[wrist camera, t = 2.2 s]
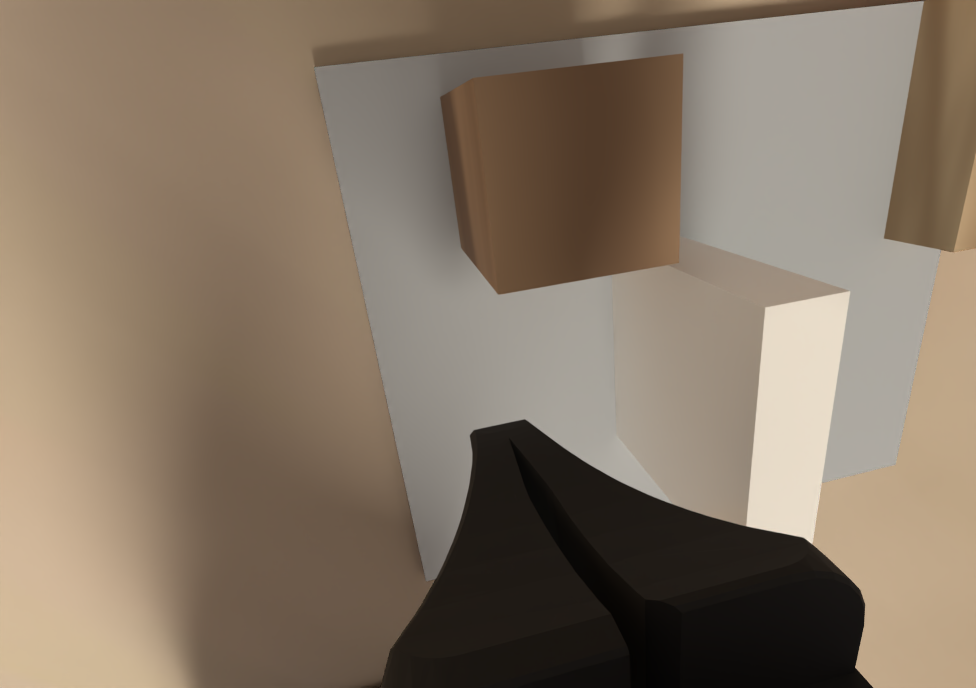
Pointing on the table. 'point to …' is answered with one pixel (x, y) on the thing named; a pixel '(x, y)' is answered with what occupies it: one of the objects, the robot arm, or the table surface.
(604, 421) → the mat
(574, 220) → the block
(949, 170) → the rail
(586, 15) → the table surface
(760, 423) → the tile
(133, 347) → the table surface
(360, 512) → the table surface
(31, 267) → the table surface
